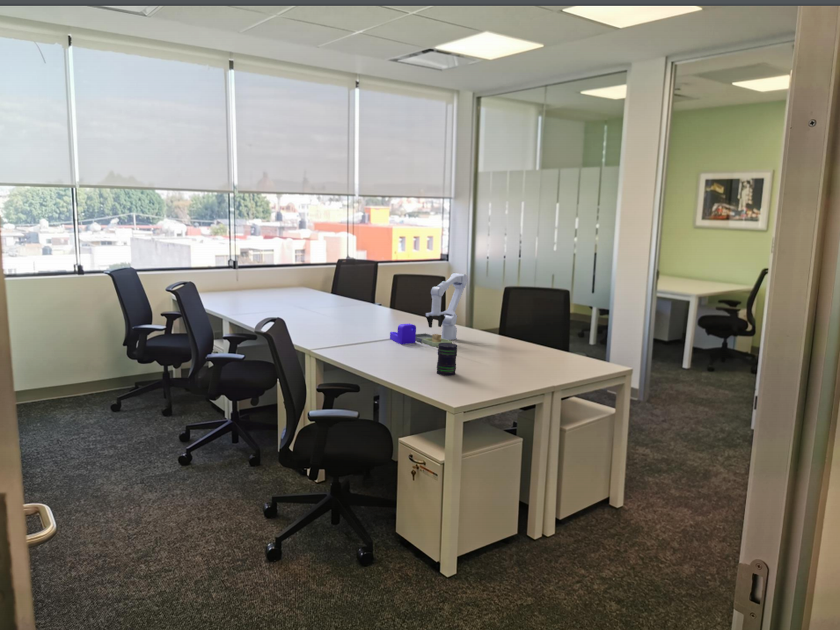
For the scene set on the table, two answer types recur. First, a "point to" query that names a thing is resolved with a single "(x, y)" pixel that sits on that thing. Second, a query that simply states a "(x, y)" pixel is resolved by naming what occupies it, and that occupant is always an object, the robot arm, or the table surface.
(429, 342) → the olive bin
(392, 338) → the bracket
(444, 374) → the storage jar
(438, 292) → the robot arm
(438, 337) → the oak block
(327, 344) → the table surface
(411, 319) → the table surface
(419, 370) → the table surface
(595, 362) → the table surface
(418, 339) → the charcoal bin
